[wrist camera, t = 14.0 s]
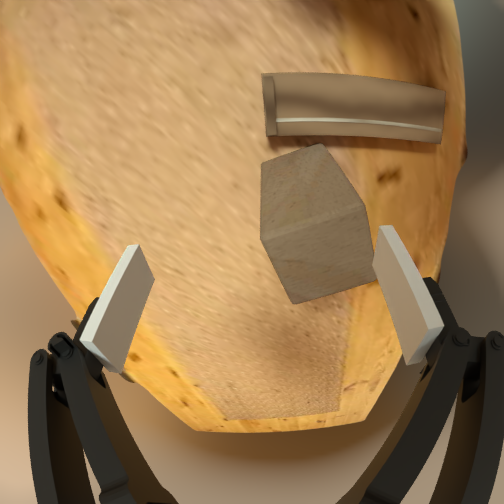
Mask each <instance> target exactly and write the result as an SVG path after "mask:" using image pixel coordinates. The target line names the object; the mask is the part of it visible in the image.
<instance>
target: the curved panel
mask: <svg viewBox="0 0 504 504" xmlns="http://www.w3.org/2000/svg"><path fill="white" fill-rule="evenodd" d="M261 75H262V87H263V99H264V112H265V126H266V137H267V136H293V135H340V136H365V137H380V138H393V139H403V140H412V141H421V142H428V143H435V144H441V140H442V132H443V123H444V111H445V97H446V91H443V90H439V89H435V88H431V87H426V86H422V85H417V84H412V83H407V82H402V81H396V80H390V79H383V78H376V77H368V76H359V75H348V74H333V73H263V74H261Z"/></svg>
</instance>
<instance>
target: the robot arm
mask: <svg viewBox="0 0 504 504" xmlns="http://www.w3.org/2000/svg"><path fill="white" fill-rule="evenodd" d="M372 266H373V268H374V271H375V274H376V276H377V279H378V281H379V284H380V286H381V289H382V292H383V295H384V297H385V300H386V303H387V306H388V308H389V311H390V314H391V317H392V320H393V323H394V326H395V329H396V332H397V336H398V339H399V342H400V345H401V349H402V352H403V355H404V359H405V362H406V365H410V364H414V363H419V362H421V361H422V359H423V358H424V357H425V355H426V358H427V364H426V365H425V366H424V368H423V369H422V371H421V372H420V374H421V377H420V379H419V381H418V383H417V385H416V387H415V389H414V391H413V393H412V395H411V397H410V399H409V401H408V403H407V405H406V407H405V409H404V410H403V413H402V414H401V416H400V418H399V419H398V421H397V423H396V425H395V426H394V428H393V430H392V431H391V433H390V435H389V436H388V438H387V439H386V441H385V442H384V444H383V446H382V447H381V449H380V450H379V452H378V453H377V455H376V456H375V457H374V459H373V460H372V462H371V463H370V465H369V466H368V467H367V469H366V470H365V471H364V473H363V474H362V475H361V477H360V478H359V479H358V481H357V482H356V483H355V485H354V486H353V487H352V488H351V489H350V490H349V491H348V492H347V493H346V494H345V495H344V496H343V497H342V498H341V499H340V500H339V501H338V502H337V503H336V504H400V503H401V501H402V499H403V498H404V497H405V495H406V494H407V492H408V491H409V489H410V487H411V486H412V484H413V483H414V481H415V480H416V478H417V476H418V475H419V473H420V471H421V470H422V468H423V466H424V465H425V463H426V461H427V459H428V457H429V455H430V453H431V452H432V450H433V448H434V446H435V444H436V442H437V440H438V438H439V436H440V434H441V431H442V429H443V427H444V425H445V423H446V420H447V418H448V416H449V413H450V411H451V408H452V406H453V403H454V401H455V398H456V395H457V393H458V396H457V402H456V409H455V415H454V420H453V425H452V430H451V435H450V439H449V443H448V447H447V451H446V455H445V458H444V462H443V466H442V469H441V472H440V475H439V478H438V481H437V484H436V487H435V490H434V492H433V495H432V498H431V500H430V503H429V504H488V502H489V499H490V496H491V493H492V489H493V486H494V482H495V478H496V474H497V470H498V466H499V461H500V457H501V451H502V445H503V440H504V336H503V335H502V334H501V333H500V332H498V331H491V332H489V333H488V334H487V336H486V337H485V338H484V337H474V336H471V335H470V334H469V333H468V331H466V330H465V329H464V328H461V327H459V326H458V324H457V322H456V320H455V318H454V316H453V313H452V311H451V309H450V307H449V305H448V303H447V301H446V299H445V297H444V295H443V294H442V291H441V289H440V288H439V285H438V284H437V283H436V282H435V281H434V280H433V279H432V278H431V277H426V278H422V277H421V275H420V273H419V271H418V269H417V268H416V266H415V264H414V262H413V260H412V258H411V257H410V255H409V253H408V251H407V249H406V248H405V246H404V244H403V242H402V241H401V239H400V237H399V236H398V234H397V232H396V231H395V229H394V227H393V226H392V225H383V226H379V231H378V237H377V243H376V248H375V253H374V259H373V264H372ZM154 280H155V279H154V277H153V274H152V272H151V270H150V268H149V266H148V263H147V261H146V259H145V257H144V255H143V252H142V250H141V248H140V245H139V244H137V245H128V246H127V248H126V250H125V251H124V253H123V255H122V257H121V258H120V260H119V262H118V264H117V266H116V267H115V269H114V271H113V273H112V275H111V277H110V278H109V280H108V282H107V284H106V286H105V288H104V290H103V292H102V294H101V296H100V297H96V298H95V299H94V300H93V302H92V303H91V304H90V305H89V307H88V309H87V311H86V314H85V315H84V317H83V320H82V321H81V324H80V326H79V328H78V330H77V332H76V334H75V337H74V339H73V341H72V339H71V338H70V337H69V336H68V335H67V334H66V333H64V332H59V333H56V334H55V335H54V336H53V337H52V338H51V339H50V341H49V343H48V350H49V351H50V352H51V353H52V354H49V353H47V351H46V350H44V349H39V350H38V351H36V352H35V353H34V354H33V356H32V358H31V362H30V373H29V388H28V434H29V447H30V448H29V449H30V459H31V468H32V474H33V481H34V487H35V492H36V497H37V502H38V504H95V500H94V496H93V493H92V489H91V485H90V481H89V477H88V472H87V468H86V463H85V458H84V452H85V454H86V457H87V459H88V461H89V464H90V466H91V468H92V471H93V473H94V475H95V477H96V479H97V481H98V483H99V485H100V488H101V493H100V495H99V501H100V503H101V504H178V502H177V501H176V500H175V498H174V497H173V496H172V495H171V494H170V493H169V492H168V491H167V490H166V489H164V488H163V487H162V486H161V485H160V483H159V482H158V480H157V478H156V477H155V475H154V474H153V472H152V470H151V469H150V467H149V465H148V464H147V462H146V460H145V459H144V457H143V455H142V453H141V452H140V450H139V448H138V446H137V444H136V443H135V441H134V439H133V437H132V435H131V433H130V431H129V429H128V427H127V425H126V423H125V421H124V419H123V417H122V415H121V413H120V410H119V408H118V406H117V404H116V401H115V399H114V397H113V394H112V392H111V389H110V387H109V385H108V382H107V380H106V377H105V374H104V373H103V372H102V368H103V366H104V367H105V368H106V369H107V370H108V371H110V372H115V373H122V370H123V367H124V364H125V361H126V357H127V354H128V351H129V348H130V345H131V342H132V339H133V337H134V334H135V331H136V328H137V325H138V322H139V320H140V317H141V314H142V311H143V309H144V306H145V303H146V301H147V298H148V296H149V293H150V290H151V288H152V285H153V283H154ZM52 386H53V387H54V392H53V391H52ZM83 449H84V452H83Z"/></svg>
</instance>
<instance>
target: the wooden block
mask: <svg viewBox="0 0 504 504" xmlns="http://www.w3.org/2000/svg"><path fill="white" fill-rule="evenodd" d="M260 240H261V242H262V244H263V246H264V248H265V250H266V252H267V254H268V256H269V258H270V260H271V262H272V264H273V266H274V268H275V270H276V272H277V274H278V276H279V278H280V281H281V283H282V285H283V287H284V289H285V291H286V293H287V295H288V297H289V299H290V301H291V302H292V304H299V303H302V302H306V301H310V300H313V299H317V298H320V297H324V296H327V295H331V294H334V293H337V292H341V291H344V290H347V289H351V288H354V287H357V286H360V285H364V284H367V283H370V282H373V281H375V280H376V278H377V276H376V274H375V271H374V268H373V266H372V264H373V259H374V251H373V245H372V239H371V233H370V228H369V223H368V217H367V212H366V207H365V204H364V203H363V201H362V200H361V198H360V197H359V195H358V194H357V192H356V190H355V189H354V187H353V186H352V184H351V183H350V181H349V180H348V178H347V177H346V176H345V174H344V173H343V171H342V170H341V168H340V167H339V166H338V164H337V163H336V161H335V160H334V158H333V157H332V156H331V154H330V153H329V152H328V150H327V149H326V148H325V146H324V145H323V144H322V143H318V144H315V145H312V146H309V147H306V148H303V149H300V150H297V151H294V152H291V153H288V154H286V155H283V156H280V157H277V158H274V159H271V160H269V161H266V162H263V163H262V164H261V210H260Z"/></svg>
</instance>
